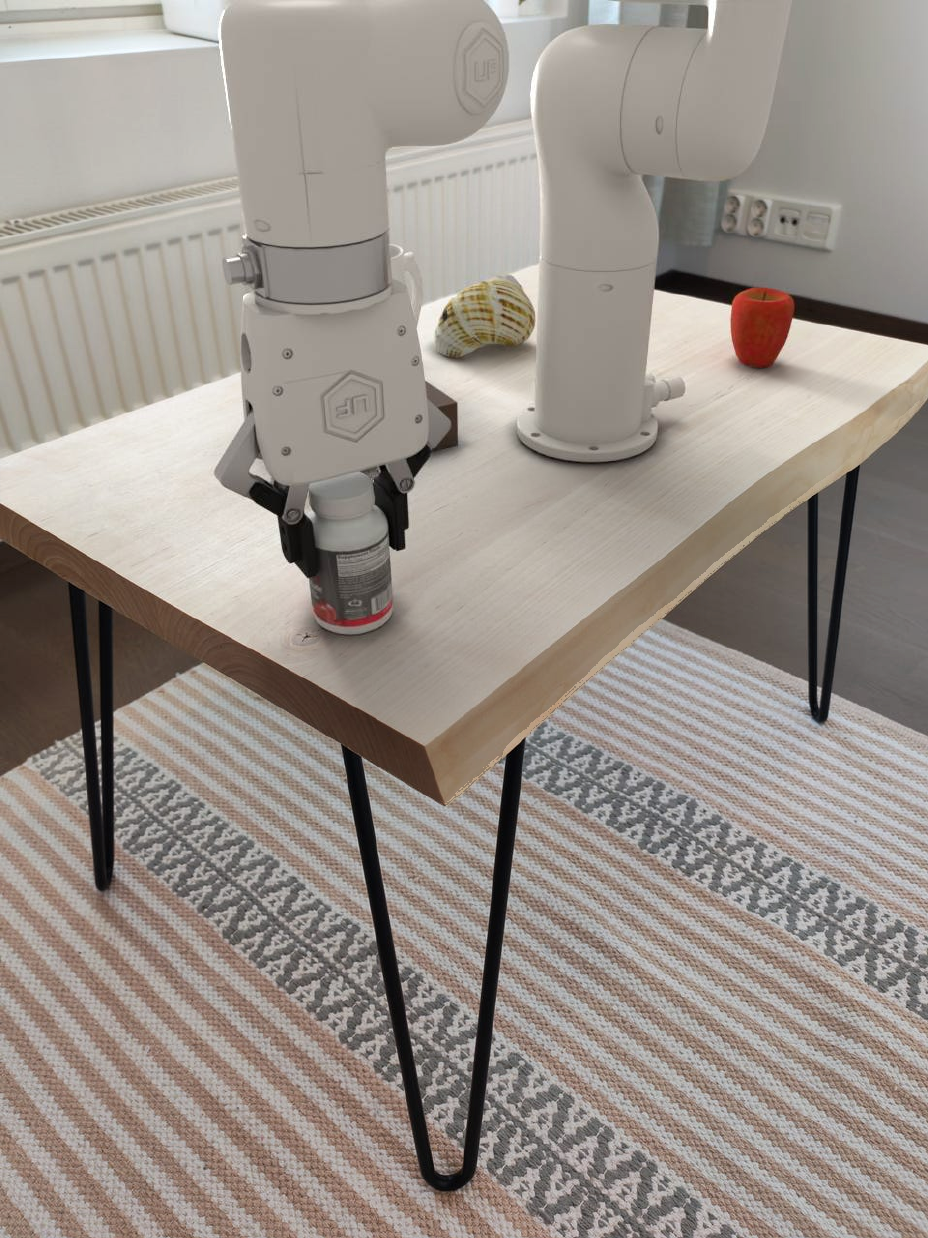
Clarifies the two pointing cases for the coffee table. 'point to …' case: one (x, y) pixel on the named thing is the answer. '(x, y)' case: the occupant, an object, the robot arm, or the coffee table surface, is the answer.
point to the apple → (760, 325)
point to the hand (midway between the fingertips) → (347, 551)
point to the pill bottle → (350, 556)
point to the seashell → (485, 317)
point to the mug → (408, 264)
